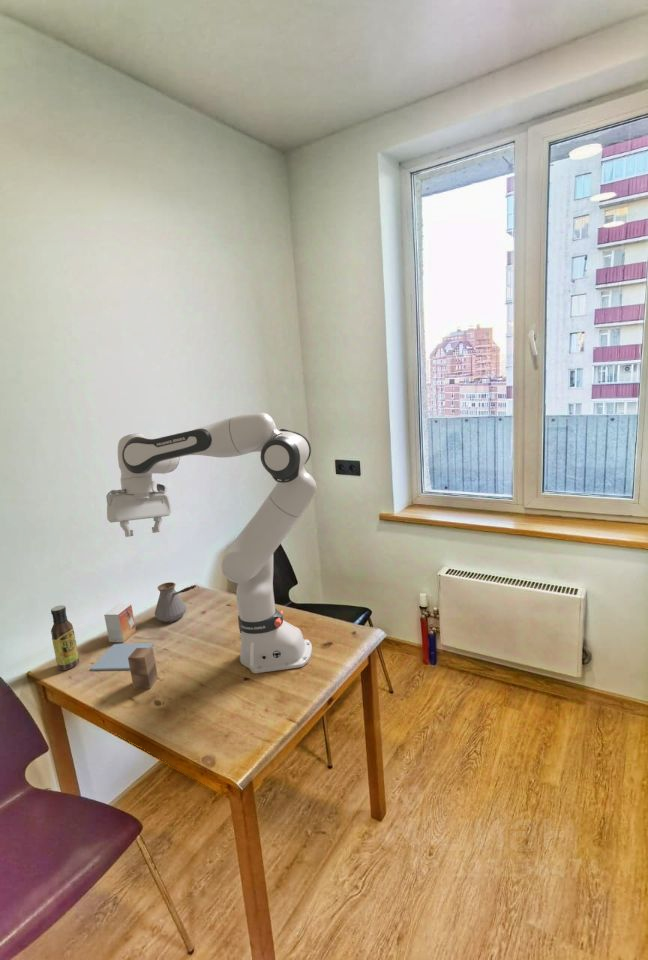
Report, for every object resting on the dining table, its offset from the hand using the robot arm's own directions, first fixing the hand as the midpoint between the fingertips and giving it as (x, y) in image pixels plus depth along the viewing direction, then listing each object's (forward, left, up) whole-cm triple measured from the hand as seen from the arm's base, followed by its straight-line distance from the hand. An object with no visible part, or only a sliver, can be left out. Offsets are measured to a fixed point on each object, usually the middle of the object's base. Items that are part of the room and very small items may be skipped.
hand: (143, 534), depth 141 cm
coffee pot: (+6, -26, -42) cm, 50 cm away
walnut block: (+1, +12, -42) cm, 43 cm away
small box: (+23, -15, -42) cm, 50 cm away
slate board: (+16, -2, -42) cm, 45 cm away
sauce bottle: (+32, +2, -42) cm, 53 cm away
